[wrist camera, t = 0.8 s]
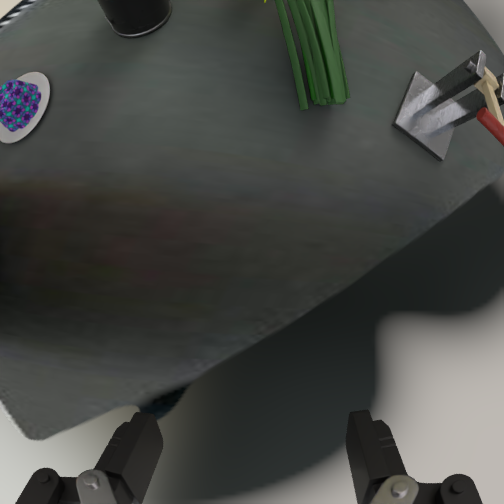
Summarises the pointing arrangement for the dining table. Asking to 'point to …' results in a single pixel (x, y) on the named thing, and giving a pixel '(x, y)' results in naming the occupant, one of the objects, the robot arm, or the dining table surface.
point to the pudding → (22, 105)
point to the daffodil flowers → (315, 51)
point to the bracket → (443, 105)
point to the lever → (490, 106)
